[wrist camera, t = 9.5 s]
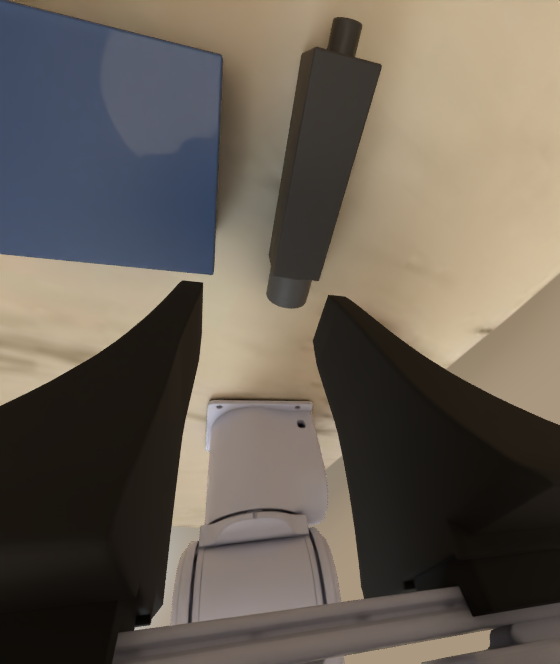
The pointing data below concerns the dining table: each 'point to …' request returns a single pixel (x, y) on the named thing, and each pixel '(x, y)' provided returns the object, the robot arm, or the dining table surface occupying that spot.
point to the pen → (318, 159)
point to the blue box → (106, 144)
